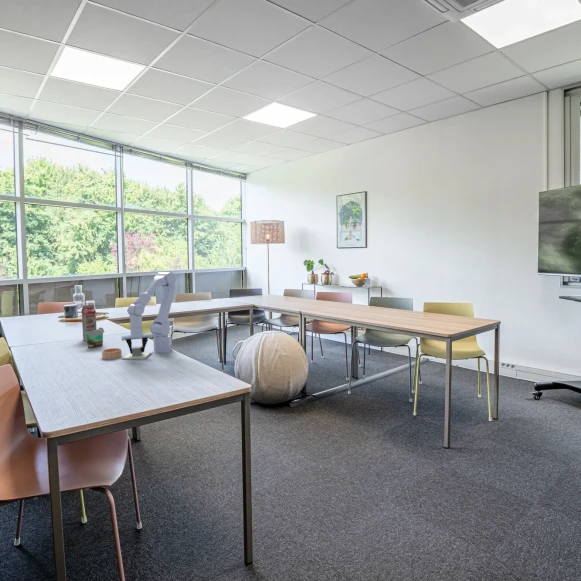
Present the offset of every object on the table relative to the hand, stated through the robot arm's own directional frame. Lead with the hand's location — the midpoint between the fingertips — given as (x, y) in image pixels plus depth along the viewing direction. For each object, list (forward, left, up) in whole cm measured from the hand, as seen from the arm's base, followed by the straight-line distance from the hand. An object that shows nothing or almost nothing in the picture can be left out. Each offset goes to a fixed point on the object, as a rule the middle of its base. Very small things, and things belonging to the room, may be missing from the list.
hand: (137, 352), depth 216 cm
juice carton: (+43, -46, -3) cm, 63 cm away
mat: (0, 0, -2) cm, 2 cm away
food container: (+31, -28, -3) cm, 42 cm away
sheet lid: (0, 0, -2) cm, 2 cm away
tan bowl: (+13, 0, -2) cm, 13 cm away
